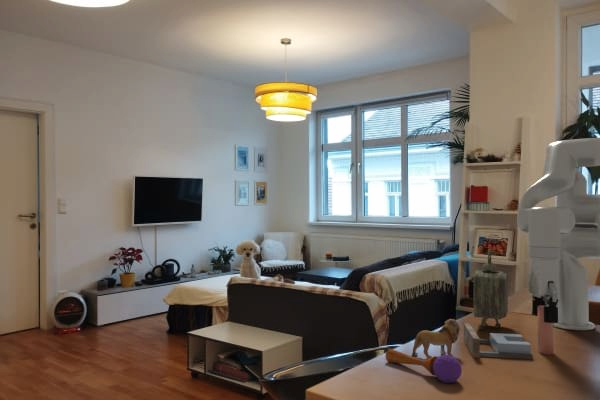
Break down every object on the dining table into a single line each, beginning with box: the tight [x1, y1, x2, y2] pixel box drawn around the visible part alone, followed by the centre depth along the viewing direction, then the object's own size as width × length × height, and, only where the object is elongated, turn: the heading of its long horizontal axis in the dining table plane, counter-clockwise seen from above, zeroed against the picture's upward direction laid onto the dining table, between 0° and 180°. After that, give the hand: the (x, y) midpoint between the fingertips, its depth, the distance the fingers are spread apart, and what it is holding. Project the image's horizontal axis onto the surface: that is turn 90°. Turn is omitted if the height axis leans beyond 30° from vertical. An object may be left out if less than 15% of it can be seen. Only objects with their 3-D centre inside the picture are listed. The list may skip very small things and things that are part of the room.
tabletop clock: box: [472, 248, 509, 331], centre depth 150 cm, size 14×9×25 cm, turn 153°
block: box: [489, 332, 532, 354], centre depth 126 cm, size 10×8×3 cm
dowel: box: [537, 306, 554, 356], centre depth 124 cm, size 4×4×12 cm
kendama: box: [385, 348, 463, 384], centre depth 110 cm, size 6×6×20 cm
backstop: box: [463, 322, 534, 360], centre depth 127 cm, size 16×14×5 cm
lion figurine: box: [411, 318, 461, 359], centre depth 122 cm, size 15×5×9 cm, turn 111°
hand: (544, 318), depth 124 cm, fingers open, 9 cm apart
